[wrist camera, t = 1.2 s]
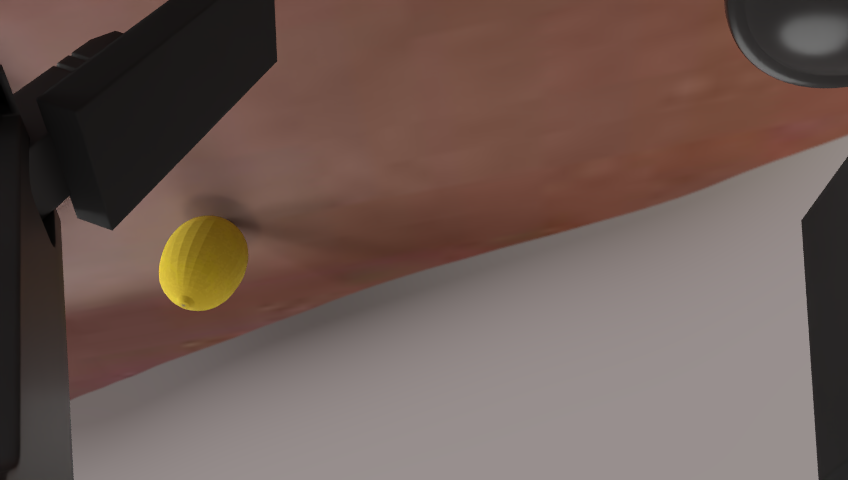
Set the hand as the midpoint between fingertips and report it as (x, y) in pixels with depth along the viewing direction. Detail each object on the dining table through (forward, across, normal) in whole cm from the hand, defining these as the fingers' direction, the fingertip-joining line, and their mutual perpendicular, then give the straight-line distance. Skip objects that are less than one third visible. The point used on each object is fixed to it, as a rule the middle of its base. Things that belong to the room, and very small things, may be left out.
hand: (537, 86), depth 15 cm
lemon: (+17, -20, -28) cm, 39 cm away
